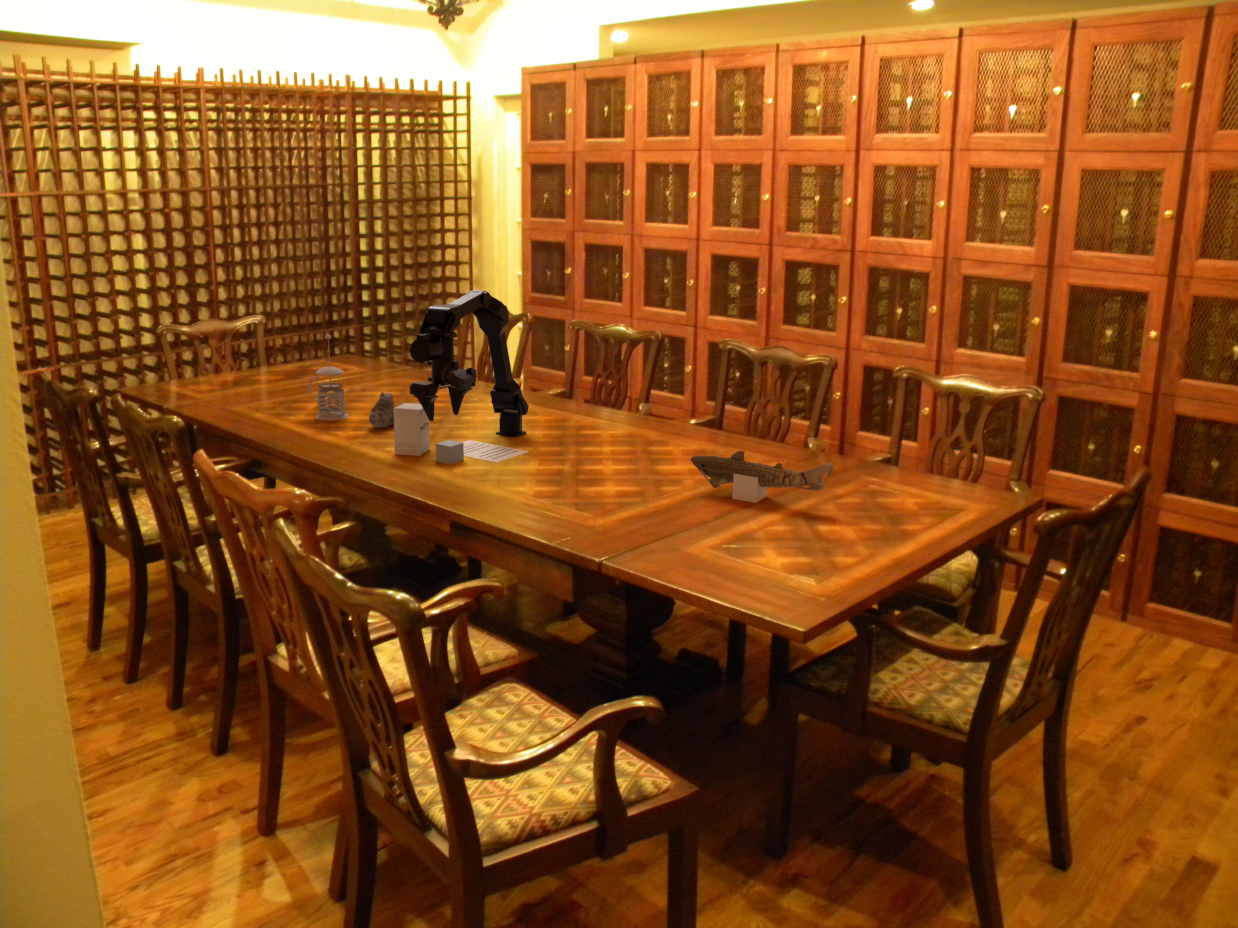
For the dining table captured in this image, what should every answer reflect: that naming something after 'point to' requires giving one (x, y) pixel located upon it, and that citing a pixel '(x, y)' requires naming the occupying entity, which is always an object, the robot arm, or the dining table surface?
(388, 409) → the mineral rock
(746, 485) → the wood carving
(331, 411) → the french press
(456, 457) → the cube
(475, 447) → the letter
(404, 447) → the supplement box
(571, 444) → the dining table surface
